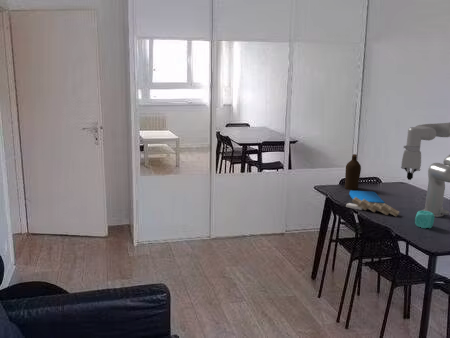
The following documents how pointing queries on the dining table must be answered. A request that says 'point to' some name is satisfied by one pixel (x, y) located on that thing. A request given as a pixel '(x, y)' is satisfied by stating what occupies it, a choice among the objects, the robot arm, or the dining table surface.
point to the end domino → (353, 206)
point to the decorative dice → (424, 219)
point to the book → (367, 196)
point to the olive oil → (352, 173)
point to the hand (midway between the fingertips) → (409, 179)
